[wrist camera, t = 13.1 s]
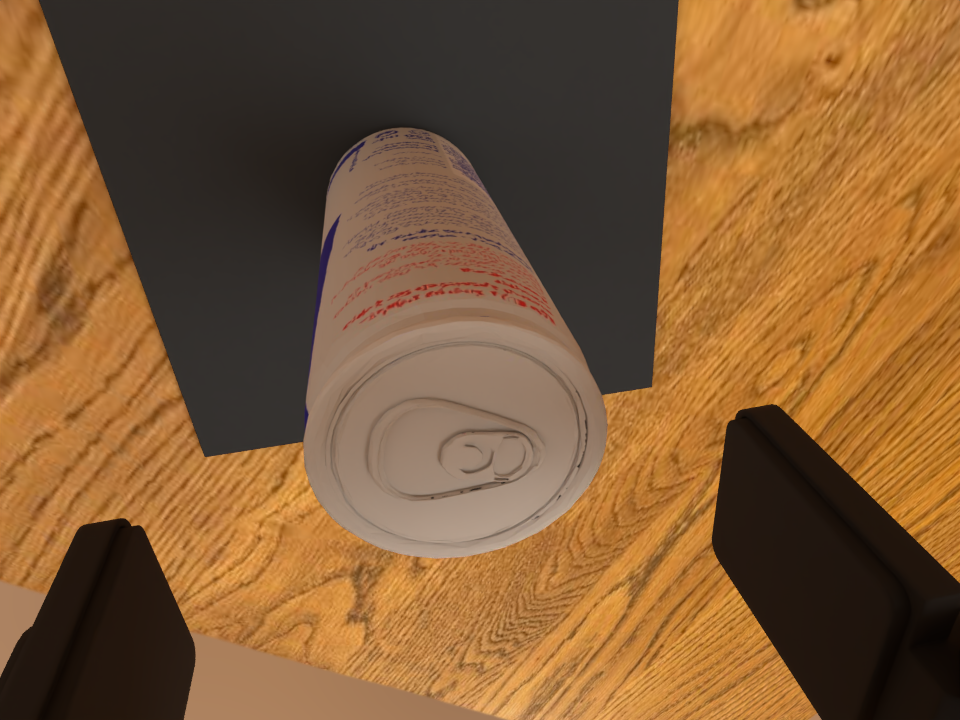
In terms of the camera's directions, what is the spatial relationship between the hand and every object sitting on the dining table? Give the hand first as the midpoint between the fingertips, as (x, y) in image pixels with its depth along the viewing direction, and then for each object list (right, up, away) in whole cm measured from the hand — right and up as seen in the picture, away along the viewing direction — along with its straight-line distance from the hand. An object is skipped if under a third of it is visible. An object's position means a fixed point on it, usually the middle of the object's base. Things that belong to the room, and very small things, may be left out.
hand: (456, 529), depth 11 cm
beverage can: (-2, +9, +14) cm, 17 cm away
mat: (-2, +9, +14) cm, 17 cm away
